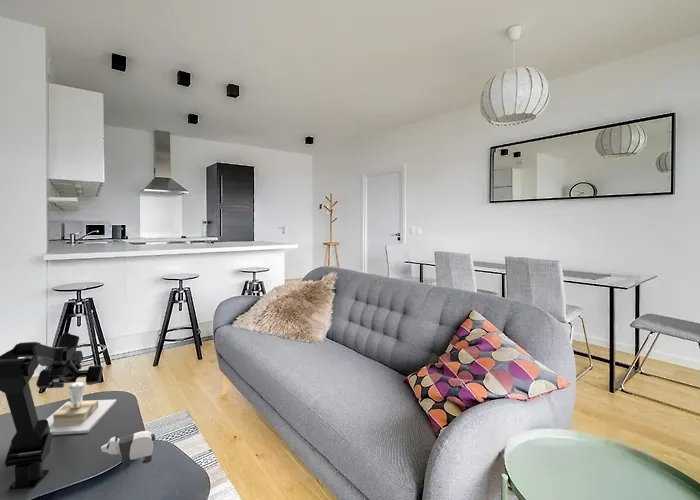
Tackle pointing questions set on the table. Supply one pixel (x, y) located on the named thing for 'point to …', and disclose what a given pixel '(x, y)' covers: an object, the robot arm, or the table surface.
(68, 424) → the baseplate
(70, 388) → the milkshake
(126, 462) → the giant panda
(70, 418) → the plinth
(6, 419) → the table surface
